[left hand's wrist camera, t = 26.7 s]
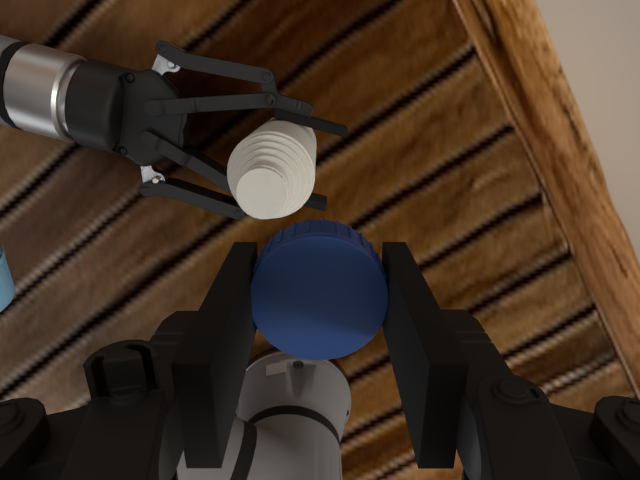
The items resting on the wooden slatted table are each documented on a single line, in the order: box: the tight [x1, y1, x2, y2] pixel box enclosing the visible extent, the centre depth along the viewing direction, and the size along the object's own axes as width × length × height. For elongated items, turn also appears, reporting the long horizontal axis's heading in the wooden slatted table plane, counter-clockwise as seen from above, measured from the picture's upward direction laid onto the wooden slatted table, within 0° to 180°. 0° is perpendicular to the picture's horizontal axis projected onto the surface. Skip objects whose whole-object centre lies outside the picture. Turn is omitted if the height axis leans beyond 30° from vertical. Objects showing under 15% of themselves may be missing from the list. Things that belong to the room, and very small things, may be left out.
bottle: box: [227, 118, 316, 219], centre depth 35 cm, size 6×6×21 cm
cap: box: [250, 219, 389, 360], centre depth 14 cm, size 4×4×2 cm
